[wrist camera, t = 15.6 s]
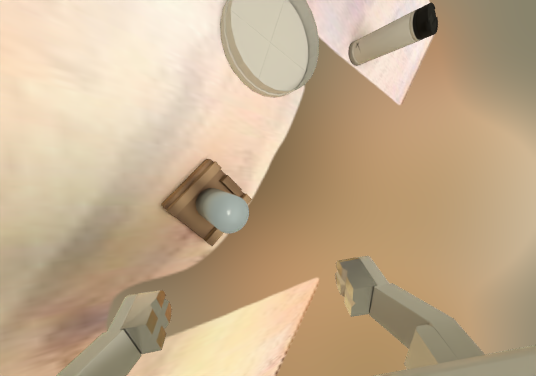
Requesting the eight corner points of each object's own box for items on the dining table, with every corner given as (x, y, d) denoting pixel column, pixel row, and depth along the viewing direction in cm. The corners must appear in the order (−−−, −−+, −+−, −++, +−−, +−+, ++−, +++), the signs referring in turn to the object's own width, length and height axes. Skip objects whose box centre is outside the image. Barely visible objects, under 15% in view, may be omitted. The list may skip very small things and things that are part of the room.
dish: (240, -42, 44) (252, -63, 40) (315, 33, 56) (330, 23, 52) (204, 61, 42) (212, 50, 38) (289, 114, 54) (302, 111, 50)
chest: (207, 240, 46) (214, 248, 42) (161, 204, 41) (164, 209, 37) (243, 197, 50) (254, 201, 46) (206, 159, 44) (214, 159, 40)
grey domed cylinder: (211, 224, 43) (231, 240, 35) (188, 205, 41) (204, 217, 32) (231, 201, 45) (255, 211, 37) (211, 181, 42) (231, 187, 34)
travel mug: (344, 50, 62) (426, 10, 45) (356, 37, 63) (438, -6, 47) (353, 70, 64) (433, 40, 48) (364, 57, 66) (445, 24, 50)
